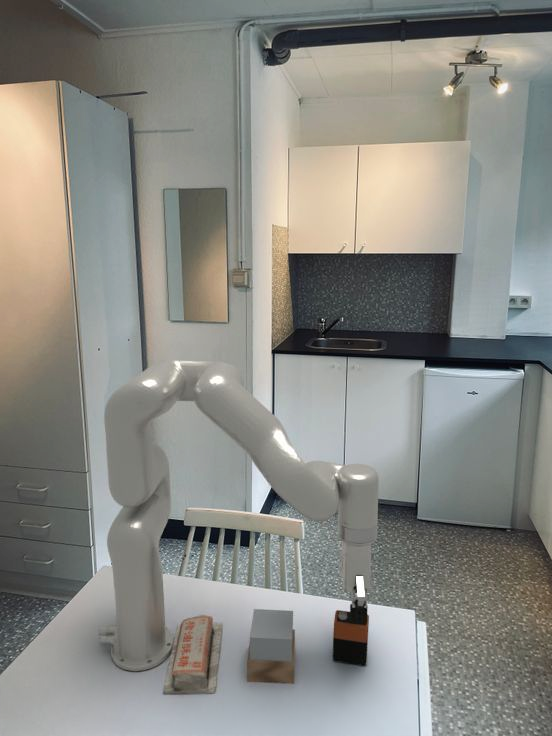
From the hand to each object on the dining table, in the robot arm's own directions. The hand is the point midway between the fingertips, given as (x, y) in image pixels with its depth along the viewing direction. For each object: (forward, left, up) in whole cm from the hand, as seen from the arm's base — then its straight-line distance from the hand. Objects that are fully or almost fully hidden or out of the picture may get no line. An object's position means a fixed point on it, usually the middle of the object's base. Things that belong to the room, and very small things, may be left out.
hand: (355, 606), depth 107 cm
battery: (-1, 0, -12) cm, 12 cm away
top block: (-17, -3, -7) cm, 18 cm away
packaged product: (-32, -2, -13) cm, 35 cm away
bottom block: (-17, -3, -12) cm, 21 cm away
